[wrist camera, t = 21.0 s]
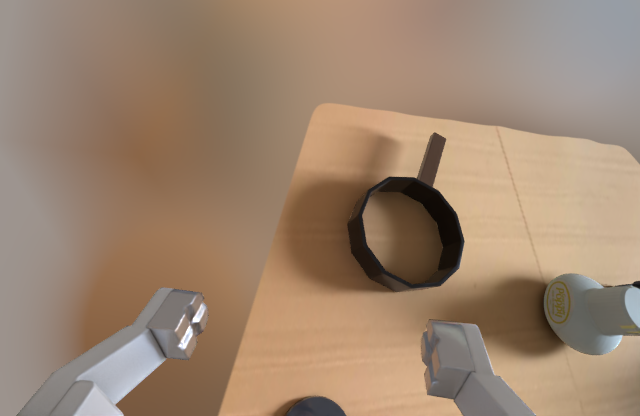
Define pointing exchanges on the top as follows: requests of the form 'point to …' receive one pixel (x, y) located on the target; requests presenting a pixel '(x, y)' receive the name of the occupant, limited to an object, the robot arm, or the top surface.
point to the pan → (436, 208)
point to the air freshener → (591, 313)
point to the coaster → (315, 407)
